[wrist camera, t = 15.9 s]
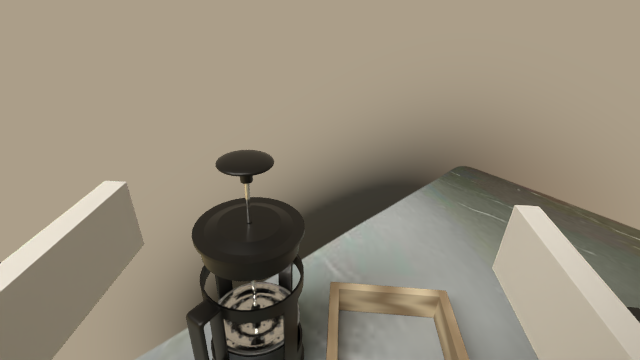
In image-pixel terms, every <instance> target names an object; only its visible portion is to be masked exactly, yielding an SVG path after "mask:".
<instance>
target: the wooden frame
mask: <svg viewBox="0 0 640 360" xmlns="http://www.w3.org/2000/svg"><path fill="white" fill-rule="evenodd" d="M338 310H346V311H359V312H371V313H384V314H396V315H408V316H421V317H433V318H434V321H435V325H436V329H437V332H438V336H439V340H440V343H441V347H442V351H443V354H444V358H445V360H469V358H468V355H467V352H466V349H465V346H464V343H463V340H462V337H461V334H460V331H459V328H458V325H457V322H456V319H455V316H454V313H453V310H452V307H451V304H450V301H449V298H448V295H447V292H446V291H442V290H429V289H417V288H404V287H391V286H378V285H365V284H352V283H339V282H331V285H330V298H329V315H328V334H327V352H326V360H337V350H338Z"/></svg>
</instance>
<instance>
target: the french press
mask: <svg viewBox="0 0 640 360" xmlns="http://www.w3.org/2000/svg"><path fill="white" fill-rule="evenodd" d="M273 164H274V160H273V158H272V157H271V156H270V155H268V154H267V153H264V152H261V151H255V150H239V151H234V152H230V153H227V154H225V155H223V156H221V157H220V158H219V159H218V160H217V161H216V168H217V169H218V170H219V171H220V172H222V173H224V174H227V175H231V176H240V181H241V183H243V184H244V186H245V198H241V199H235V200H231V201H228V202H225V203H221V204H219V205H217V206H215V207H213V208H211V209H210V210H208V211H206V212H205V213H204V214H203V215H202V216H201V217H200V218H199V219H198V220H197V222H196V223H195V225H194V227H193V230H192V240H193V244H194V246H195V248H196V250H197V251H198V252H199V253H200V254H201V257H202V260H203V263H204V267H203V268H202V271H201V274H200V286H201V292H202V297H203V302H201V303H200V304H199V305H197V306H196V307H195V308H193V309H192V310H191V311H190V312H189V313H188V314H187V315H186V320H187V325H188V330H189V334H190V339H191V344H192V348H193V353H194V358H195V360H209V356H208V350H207V345H206V339H205V334H204V326H205V324H206V323H208V322H209V321H210V325H211V331H212V340H211V350H212V356H213V359H212V360H229V354H228V352H229V353H232V354H234V355H238V356H245V357H255V356H261V355H266V354H268V353H271V352H274V351H276V350H278V349H279V348H281V347H282V346H284V360H304V348H303V344H302V329H301V325H300V322H299V318H300V309H299V305H298V298H299V296H300V294H301V292H302V288H303V277H304V271H303V264H302V261H301V259H300V257H299V256H298V254H297V253H298V250H299V243H300V242H301V240H302V238H303V235H304V231H305V228H304V220H303V218H302V216H301V215H300V213H299V212H298V211H297V210H296V209H294V208H293V207H292V206H290V205H288V204H286V203H284V202H281V201H278V200H274V199H269V198H260V197H250V189H249V183H251V182H252V181H253V178H252V176H253V175H257V174H261V173H263V172H266V171H268V170H269V169H270V168H271V167H272V166H273ZM292 262H293V263H294V264H295V265H296V266H297V268H298V270H299V272H300V275H301V277H300V281H299V283H298V284H297V286H296V288H295V289H294V290H293V291H292ZM210 272H212V273H213V274H215V278H216V284H217V291H218V299H219V302H218V303H216V302H215V301H213V300H212V299H211V298H210V297H209V296H208V295H207V293H206V292H205V290H204V285H205V281H206V279H207V277H208V275H209V273H210ZM277 273H279V285H276V284H273V283H267V282H256V280H261V279H264V278H268V277H271V276H273V275H275V274H277ZM232 280H234V281H252V283H249V284H245V285H242V286H239V287H237V288H235V289H233V288H232Z"/></svg>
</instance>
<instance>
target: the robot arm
mask: <svg viewBox="0 0 640 360" xmlns="http://www.w3.org/2000/svg"><path fill="white" fill-rule="evenodd" d="M143 245H144V242H143V238H142V235H141V231H140V228H139V224H138V221H137V218H136V214H135V211H134V207H133V204H132V200H131V197H130V193H129V190H128V186H127V183H126V182H117V181H104V182H103V183H102V184H100V185H99V186H98V187H97V188H95V189H94V190H93V191H92V192H90V193H89V194H88V195H87V196H85V197H84V198H83V199H81V200H80V201H79V202H78V203H76V204H75V205H74V206H73V207H71V208H70V209H69V210H67V211H66V212H65V213H64V214H62V215H61V216H60V217H59V218H57V219H56V220H55V221H53V222H52V223H51V224H50V225H48V226H47V227H46V228H45V229H43V230H42V231H41V232H40V233H38V234H37V235H36V236H34V237H33V238H32V239H31V240H29V241H28V242H27V243H26V244H24V245H23V246H22V247H20V248H19V249H18V250H17V251H15V252H14V253H13V254H12V255H10V256H9V257H8V258H7V259H5V260H4V261H3V262H0V360H52V359H53V357H54V356H55V355H56V353H57V352H58V351H59V350H60V349H61V347H62V346H63V345H64V344H65V342H66V341H67V340H68V338H69V337H70V336H71V335H72V334H73V332H74V331H75V330H76V329H77V327H78V326H79V325H80V323H81V322H82V321H83V320H84V319H85V317H86V316H87V315H88V314H89V312H90V311H91V310H92V309H93V307H94V306H95V305H96V304H97V302H98V301H99V300H100V299H101V297H102V296H103V295H104V294H105V292H106V291H107V290H108V288H109V287H110V286H111V285H112V283H113V282H114V281H115V280H116V279H117V277H118V276H119V275H120V274H121V272H122V271H123V270H124V269H125V267H126V266H127V265H128V264H129V262H130V261H131V260H132V259H133V257H134V256H135V255H136V254H137V252H138V251H139V250H140V249H141V247H142V246H143ZM492 269H493V271H494V273H495V275H496V277H497V279H498V281H499V282H500V284H501V286H502V288H503V290H504V292H505V294H506V296H507V298H508V300H509V302H510V304H511V306H512V308H513V310H514V312H515V314H516V316H517V318H518V320H519V322H520V324H521V326H522V328H523V330H524V332H525V334H526V336H527V337H528V339H529V341H530V343H531V345H532V347H533V349H534V351H535V353H536V355H537V357H538V359H539V360H640V309H639V308H632V307H626V306H625V305H624V304H623V303H622V302H621V301H620V300H619V298H618V297H617V296H616V295H615V294H614V293H613V291H612V290H611V289H610V288H609V287H608V286H607V285H606V283H605V282H604V281H603V280H602V279H601V278H600V276H599V275H598V274H597V273H596V272H595V271H594V270H593V268H592V267H591V266H590V265H589V264H588V263H587V261H586V260H585V259H584V258H583V257H582V256H581V255H580V253H579V252H578V251H577V250H576V249H575V248H574V246H573V245H572V244H571V243H570V242H569V241H568V240H567V238H566V237H565V236H564V235H563V234H562V233H561V231H560V230H559V229H558V228H557V227H556V226H555V224H554V223H553V222H552V221H551V220H550V219H549V218H548V216H547V215H546V214H545V213H544V212H543V211H542V209H541V208H540V207H539V206H522V205H515V206H514V209H513V211H512V214H511V217H510V220H509V223H508V225H507V228H506V231H505V234H504V237H503V239H502V242H501V245H500V248H499V251H498V253H497V256H496V259H495V262H494V265H493V267H492Z"/></svg>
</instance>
